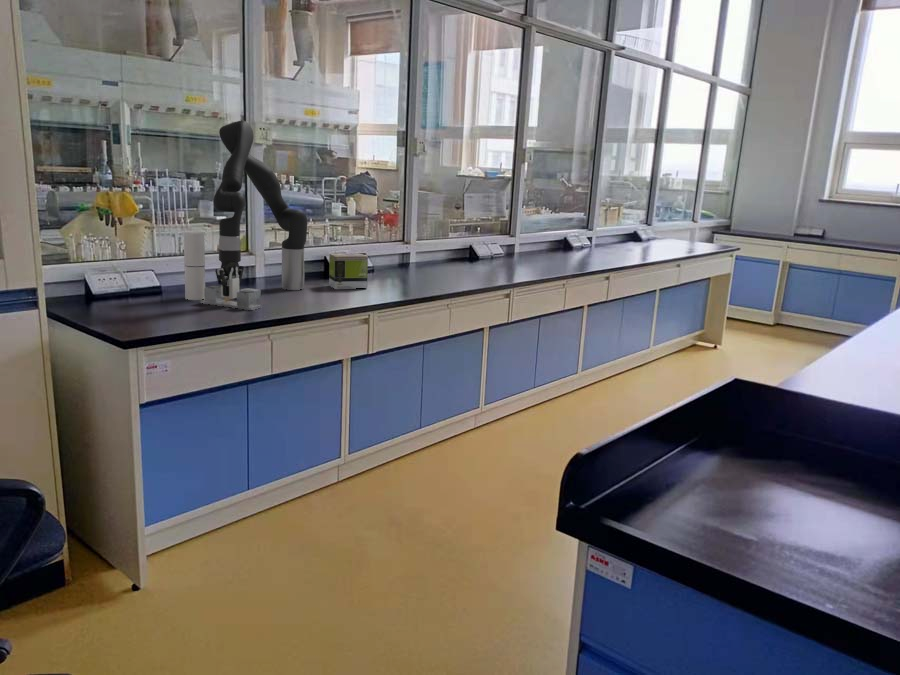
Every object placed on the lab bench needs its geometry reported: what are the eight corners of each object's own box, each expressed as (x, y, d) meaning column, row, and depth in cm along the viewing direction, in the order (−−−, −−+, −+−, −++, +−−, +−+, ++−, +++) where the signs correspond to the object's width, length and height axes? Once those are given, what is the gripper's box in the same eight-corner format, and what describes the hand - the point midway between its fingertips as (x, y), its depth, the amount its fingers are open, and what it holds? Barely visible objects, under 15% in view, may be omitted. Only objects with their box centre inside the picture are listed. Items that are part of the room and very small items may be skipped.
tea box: (361, 285, 312) (362, 253, 309) (367, 289, 303) (368, 256, 300) (328, 285, 306) (329, 252, 303) (333, 289, 297) (334, 255, 294)
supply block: (247, 296, 272) (247, 287, 271) (260, 298, 270) (260, 289, 269) (238, 299, 266) (238, 290, 265) (252, 300, 264) (252, 291, 264)
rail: (210, 300, 258) (210, 284, 257) (261, 308, 252) (261, 291, 250) (200, 303, 253) (200, 286, 251) (251, 310, 246) (251, 293, 245)
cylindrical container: (186, 300, 256) (185, 233, 250) (184, 296, 262) (182, 230, 256) (206, 300, 259) (205, 233, 253) (203, 296, 265) (202, 231, 259)
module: (227, 295, 254) (227, 275, 252) (239, 297, 253) (239, 277, 251) (220, 296, 251) (220, 277, 249) (232, 298, 249) (232, 278, 247)
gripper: (233, 245, 255) (233, 291, 259) (208, 248, 242) (208, 296, 246) (250, 247, 253) (250, 293, 257) (226, 251, 240) (226, 299, 244)
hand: (230, 294), depth 251 cm, fingers closed on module, 4 cm apart
